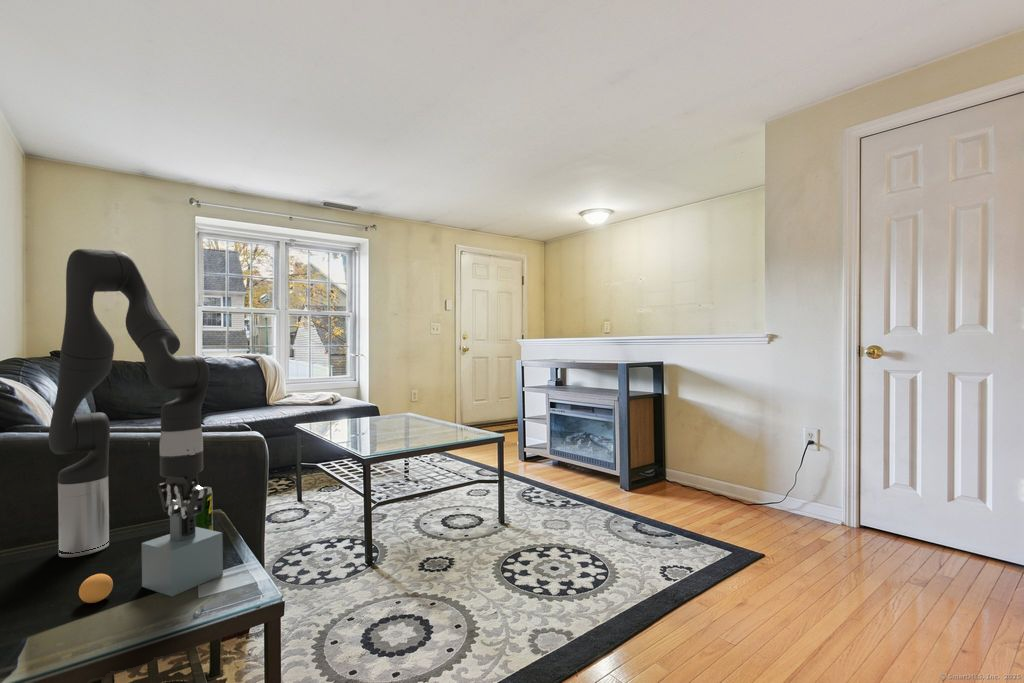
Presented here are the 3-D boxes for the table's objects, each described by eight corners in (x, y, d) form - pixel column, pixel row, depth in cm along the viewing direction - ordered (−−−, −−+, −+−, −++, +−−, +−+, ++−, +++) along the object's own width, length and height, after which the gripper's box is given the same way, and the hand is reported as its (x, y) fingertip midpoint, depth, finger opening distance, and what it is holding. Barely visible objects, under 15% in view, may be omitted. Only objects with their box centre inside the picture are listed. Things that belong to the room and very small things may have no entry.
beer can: (188, 541, 122) (187, 493, 122) (188, 535, 126) (187, 489, 126) (213, 536, 125) (212, 490, 125) (212, 530, 129) (212, 485, 129)
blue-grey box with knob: (142, 586, 98) (141, 518, 99) (193, 565, 108) (192, 503, 108) (171, 596, 94) (170, 525, 94) (222, 574, 103) (222, 509, 103)
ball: (73, 604, 92) (73, 578, 92) (104, 592, 96) (104, 567, 96) (87, 610, 90) (86, 583, 90) (118, 597, 94) (118, 571, 94)
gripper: (142, 452, 101) (143, 535, 101) (183, 457, 95) (184, 545, 94) (180, 445, 108) (181, 523, 107) (220, 449, 101) (222, 532, 101)
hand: (182, 533), depth 101 cm, fingers closed on blue-grey box with knob, 3 cm apart
